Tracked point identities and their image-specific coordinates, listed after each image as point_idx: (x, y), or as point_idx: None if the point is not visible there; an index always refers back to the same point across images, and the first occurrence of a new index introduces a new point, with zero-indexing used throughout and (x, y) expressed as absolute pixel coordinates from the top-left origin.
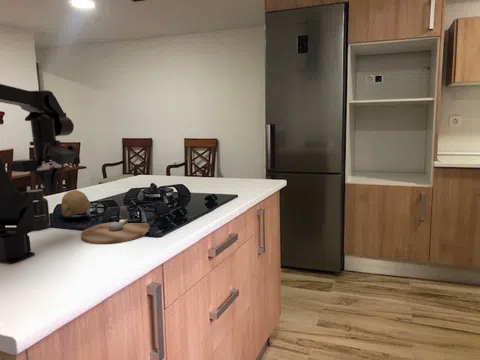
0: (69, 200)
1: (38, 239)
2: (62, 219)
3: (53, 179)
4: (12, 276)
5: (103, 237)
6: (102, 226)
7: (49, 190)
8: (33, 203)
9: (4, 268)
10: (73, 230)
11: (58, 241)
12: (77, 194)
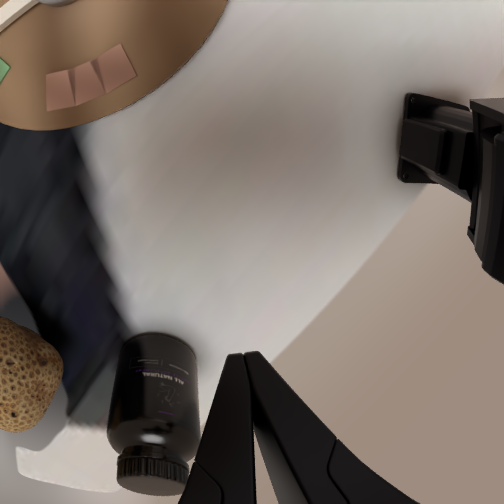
0: (23, 387)
1: (261, 241)
2: None
3: (255, 480)
4: (500, 46)
5: None
6: (49, 73)
7: (271, 376)
8: (182, 431)
9: None
10: (108, 213)
11: (257, 131)
12: None
